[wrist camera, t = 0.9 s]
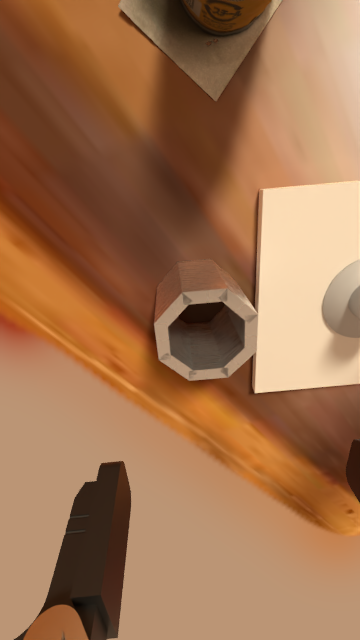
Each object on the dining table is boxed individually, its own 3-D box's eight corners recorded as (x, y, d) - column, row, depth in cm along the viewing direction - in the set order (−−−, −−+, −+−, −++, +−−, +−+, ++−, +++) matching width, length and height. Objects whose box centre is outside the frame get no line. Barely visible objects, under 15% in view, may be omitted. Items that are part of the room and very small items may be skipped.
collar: (234, 256, 23) (259, 285, 17) (234, 327, 26) (255, 374, 20) (154, 263, 23) (150, 295, 17) (162, 334, 26) (161, 383, 20)
